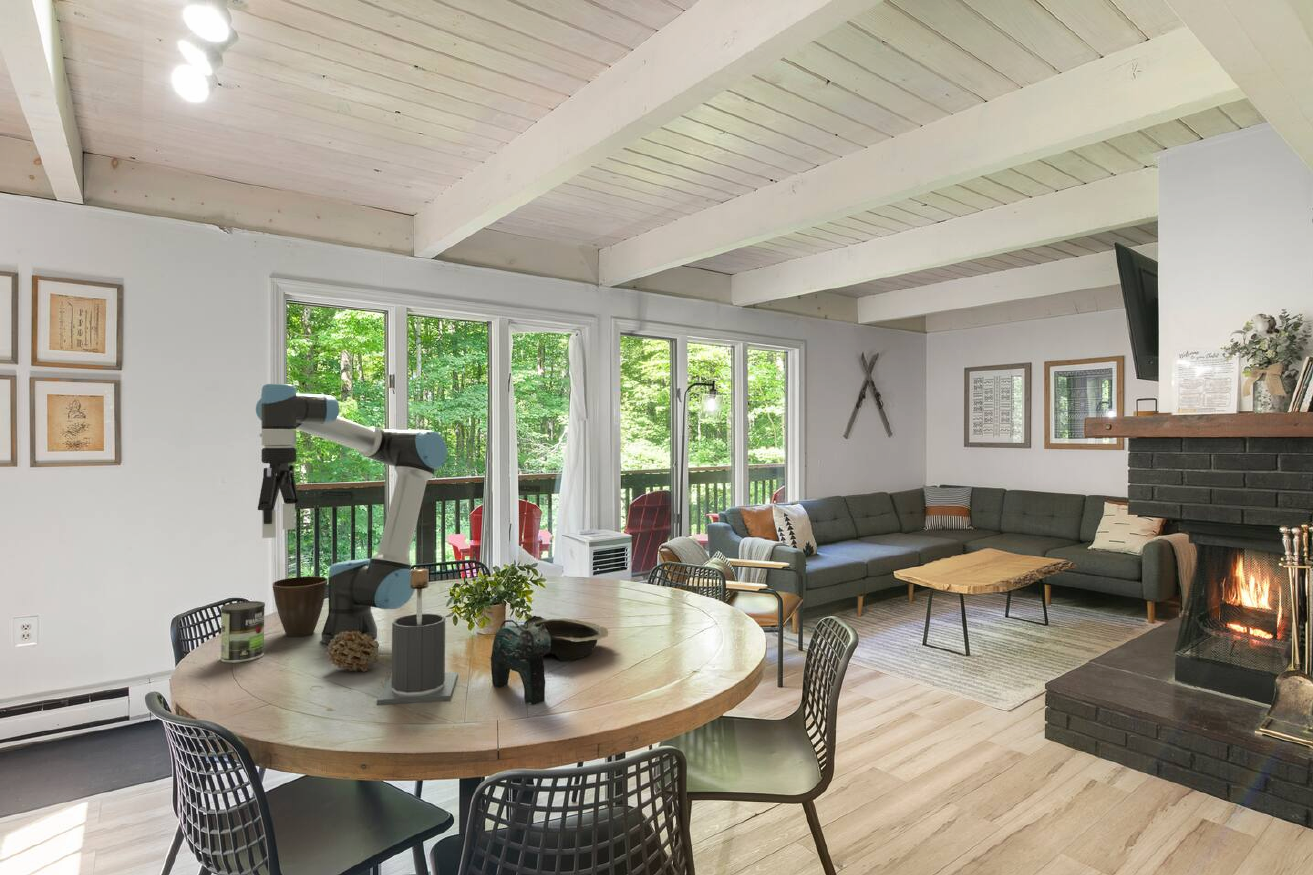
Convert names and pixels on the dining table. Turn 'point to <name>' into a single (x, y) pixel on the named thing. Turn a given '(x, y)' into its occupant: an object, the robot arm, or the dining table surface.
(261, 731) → the dining table surface
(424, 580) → the plunger
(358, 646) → the pine cone
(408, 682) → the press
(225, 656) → the coffee can
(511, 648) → the dark animal figurine
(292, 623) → the plant pot
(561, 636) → the stone bowl
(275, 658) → the dining table surface
